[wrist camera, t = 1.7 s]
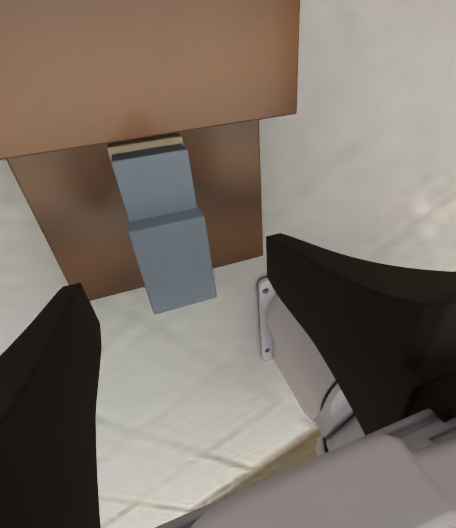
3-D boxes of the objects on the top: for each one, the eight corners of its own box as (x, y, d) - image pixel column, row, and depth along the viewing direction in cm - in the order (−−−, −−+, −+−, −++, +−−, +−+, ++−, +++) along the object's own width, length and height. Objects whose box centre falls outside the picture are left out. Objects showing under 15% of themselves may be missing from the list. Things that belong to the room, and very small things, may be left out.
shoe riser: (254, 245, 21) (291, 288, 17) (80, 289, 19) (69, 353, 14) (233, -158, 11) (310, -314, 7) (-143, -180, 9) (-409, -450, 4)
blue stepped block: (201, 266, 19) (217, 300, 16) (148, 280, 18) (155, 318, 15) (178, 132, 14) (194, 145, 11) (107, 143, 14) (104, 160, 11)
